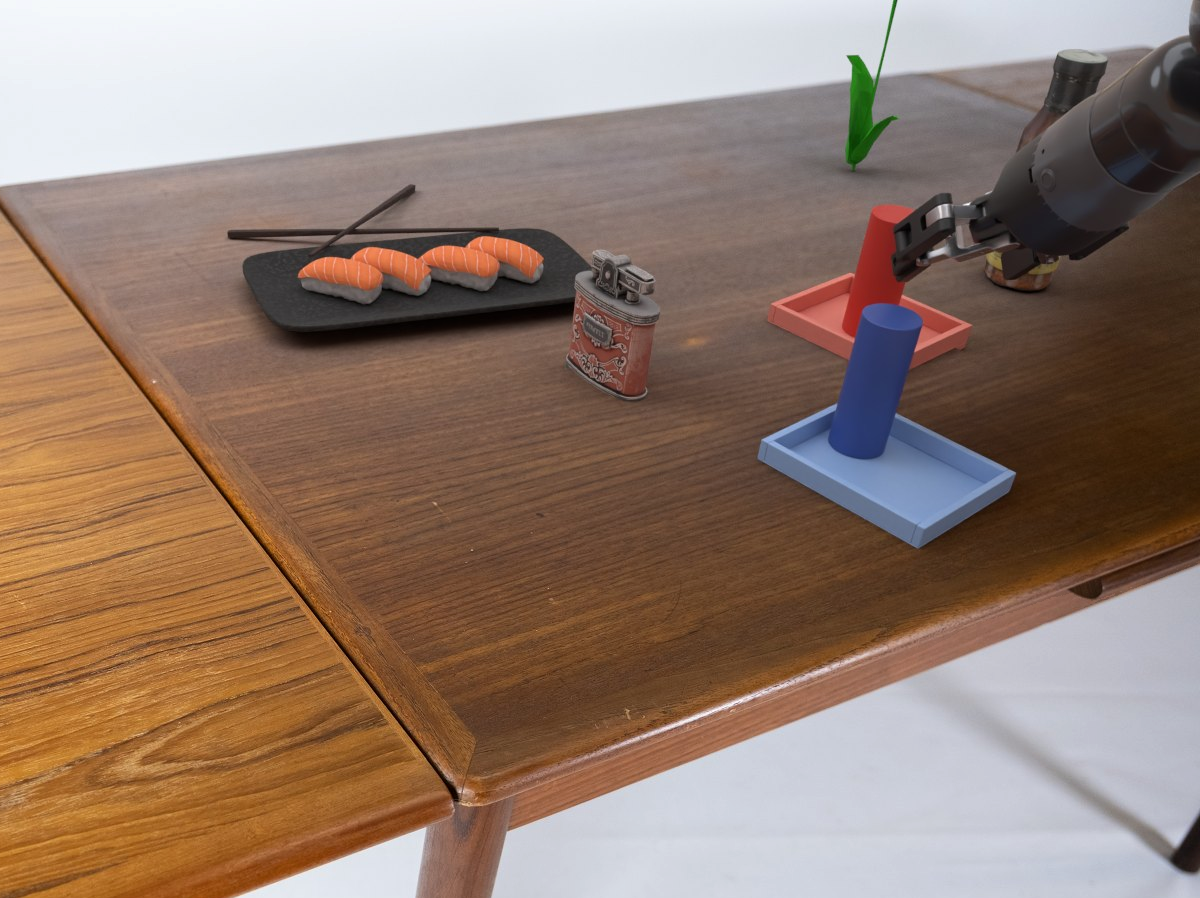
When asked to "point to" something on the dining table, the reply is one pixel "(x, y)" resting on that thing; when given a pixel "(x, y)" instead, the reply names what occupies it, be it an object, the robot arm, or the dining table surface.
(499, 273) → the sushi plate
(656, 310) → the lighter
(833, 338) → the red tray
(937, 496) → the blue tray
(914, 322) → the blue peg
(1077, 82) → the sauce bottle
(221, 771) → the dining table surface
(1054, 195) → the robot arm
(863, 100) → the flower
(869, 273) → the red peg
